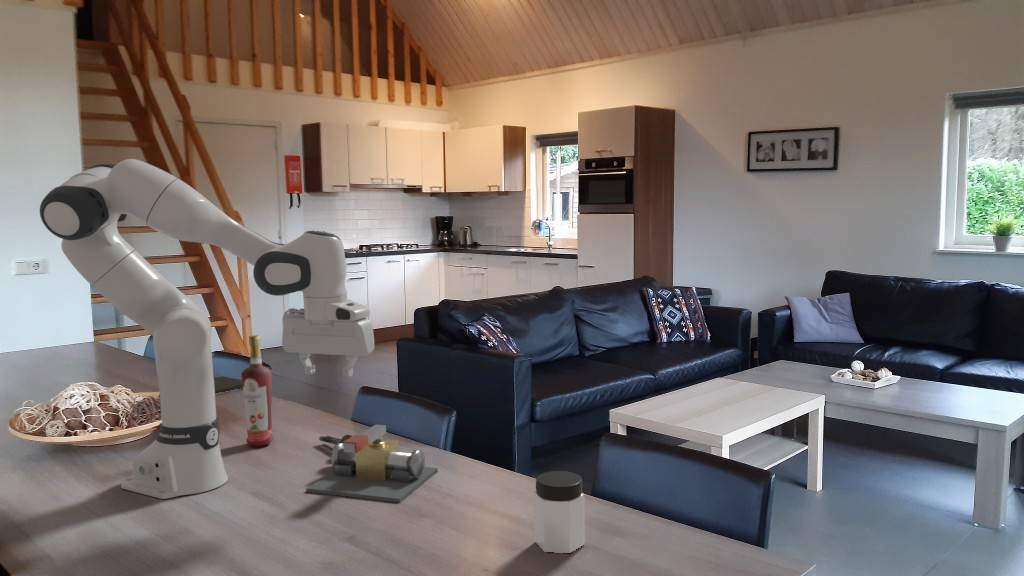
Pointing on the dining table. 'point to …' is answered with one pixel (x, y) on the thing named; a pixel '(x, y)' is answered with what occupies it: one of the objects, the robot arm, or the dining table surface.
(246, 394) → the liquor
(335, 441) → the valve
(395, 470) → the pipe valve
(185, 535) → the dining table surface
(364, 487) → the mat
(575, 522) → the jar
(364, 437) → the lever
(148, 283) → the robot arm
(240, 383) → the dark grey flat slab
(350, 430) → the dining table surface
